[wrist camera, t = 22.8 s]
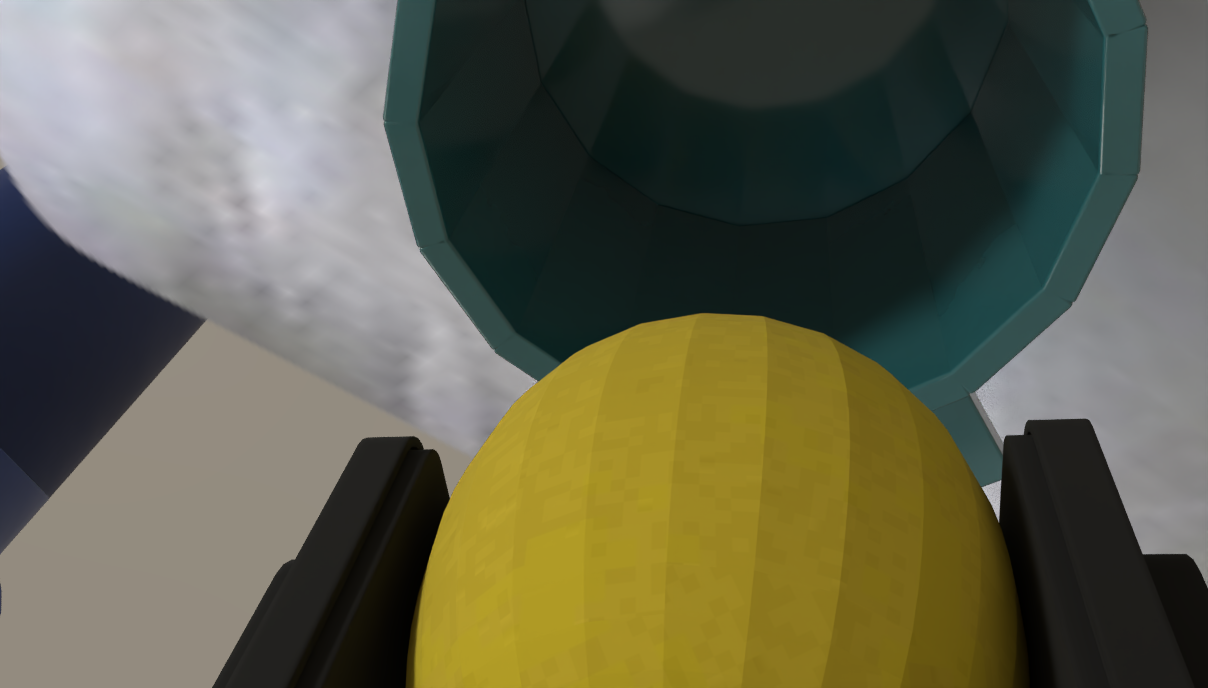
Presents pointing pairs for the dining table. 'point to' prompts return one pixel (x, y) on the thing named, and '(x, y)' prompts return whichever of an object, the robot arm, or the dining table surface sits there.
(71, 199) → the dining table surface
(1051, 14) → the pot
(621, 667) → the lemon
